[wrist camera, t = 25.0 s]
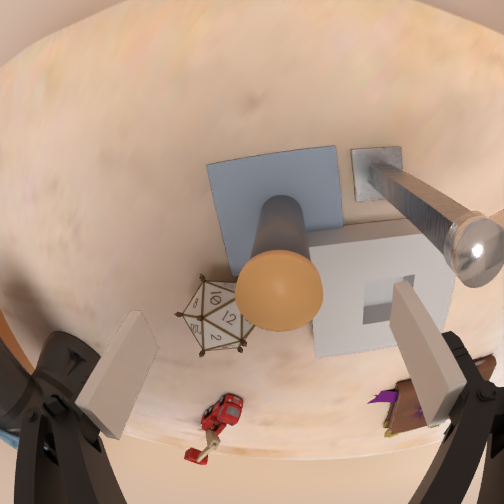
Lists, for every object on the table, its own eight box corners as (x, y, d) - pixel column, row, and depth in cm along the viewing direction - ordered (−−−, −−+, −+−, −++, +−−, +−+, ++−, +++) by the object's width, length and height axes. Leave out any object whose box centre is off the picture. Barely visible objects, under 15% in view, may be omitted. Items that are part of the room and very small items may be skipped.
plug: (260, 240, 29) (242, 333, 17) (253, 194, 27) (226, 262, 15) (308, 235, 28) (324, 327, 16) (304, 188, 26) (321, 254, 14)
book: (368, 379, 40) (374, 403, 35) (491, 347, 35) (503, 364, 31) (360, 430, 46) (363, 450, 41) (467, 402, 41) (474, 418, 37)
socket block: (313, 335, 34) (315, 358, 31) (303, 230, 29) (305, 247, 25) (430, 316, 32) (441, 336, 28) (444, 214, 26) (462, 228, 22)
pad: (233, 273, 32) (232, 276, 31) (207, 164, 27) (206, 165, 26) (344, 260, 30) (345, 263, 29) (334, 145, 25) (335, 146, 24)
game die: (231, 290, 37) (194, 358, 33) (193, 249, 32) (145, 327, 27) (291, 302, 32) (254, 384, 27) (259, 255, 26) (207, 356, 22)
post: (355, 200, 27) (420, 290, 13) (350, 149, 24) (427, 193, 10) (401, 195, 26) (491, 276, 12) (398, 146, 24) (504, 188, 10)
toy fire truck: (246, 398, 42) (238, 449, 33) (209, 425, 48) (199, 467, 39) (227, 390, 41) (217, 442, 33) (193, 419, 47) (182, 461, 39)
